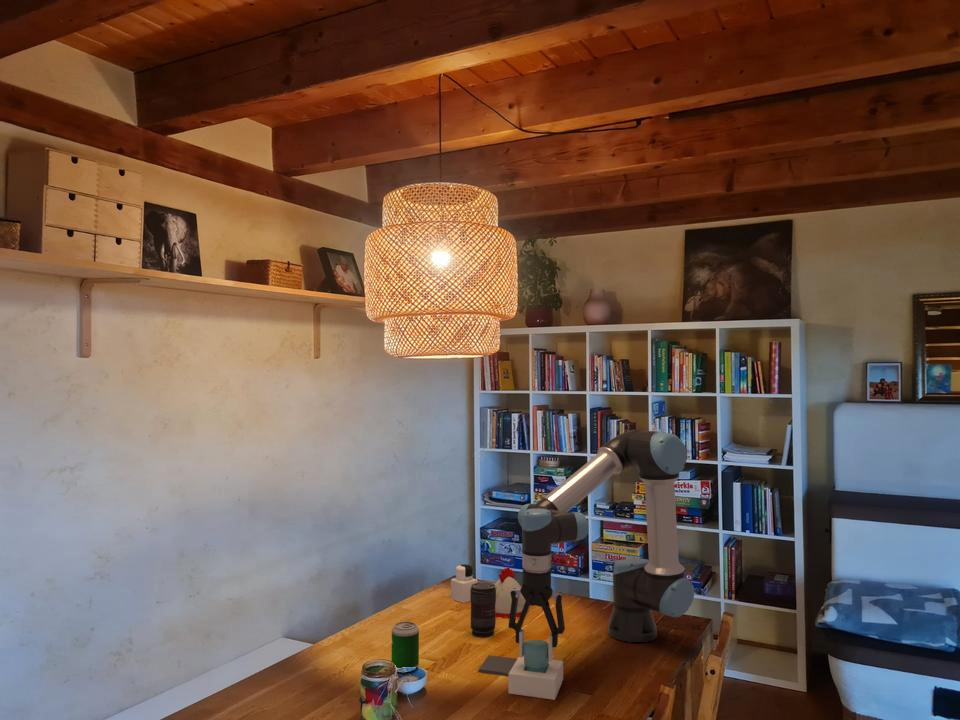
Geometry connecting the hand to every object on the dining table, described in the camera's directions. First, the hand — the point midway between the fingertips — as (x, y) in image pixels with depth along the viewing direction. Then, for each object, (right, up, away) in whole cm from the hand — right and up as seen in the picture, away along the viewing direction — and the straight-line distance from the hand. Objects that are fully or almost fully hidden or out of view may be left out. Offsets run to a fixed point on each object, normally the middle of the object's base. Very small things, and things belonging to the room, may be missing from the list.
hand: (536, 657), depth 184 cm
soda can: (-35, -8, +10) cm, 38 cm away
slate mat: (-9, -8, +12) cm, 17 cm away
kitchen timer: (-6, -9, +58) cm, 59 cm away
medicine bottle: (-20, -9, +71) cm, 74 cm away
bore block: (0, -8, 0) cm, 8 cm away
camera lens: (-14, -8, +37) cm, 41 cm away
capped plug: (0, -8, 0) cm, 8 cm away
